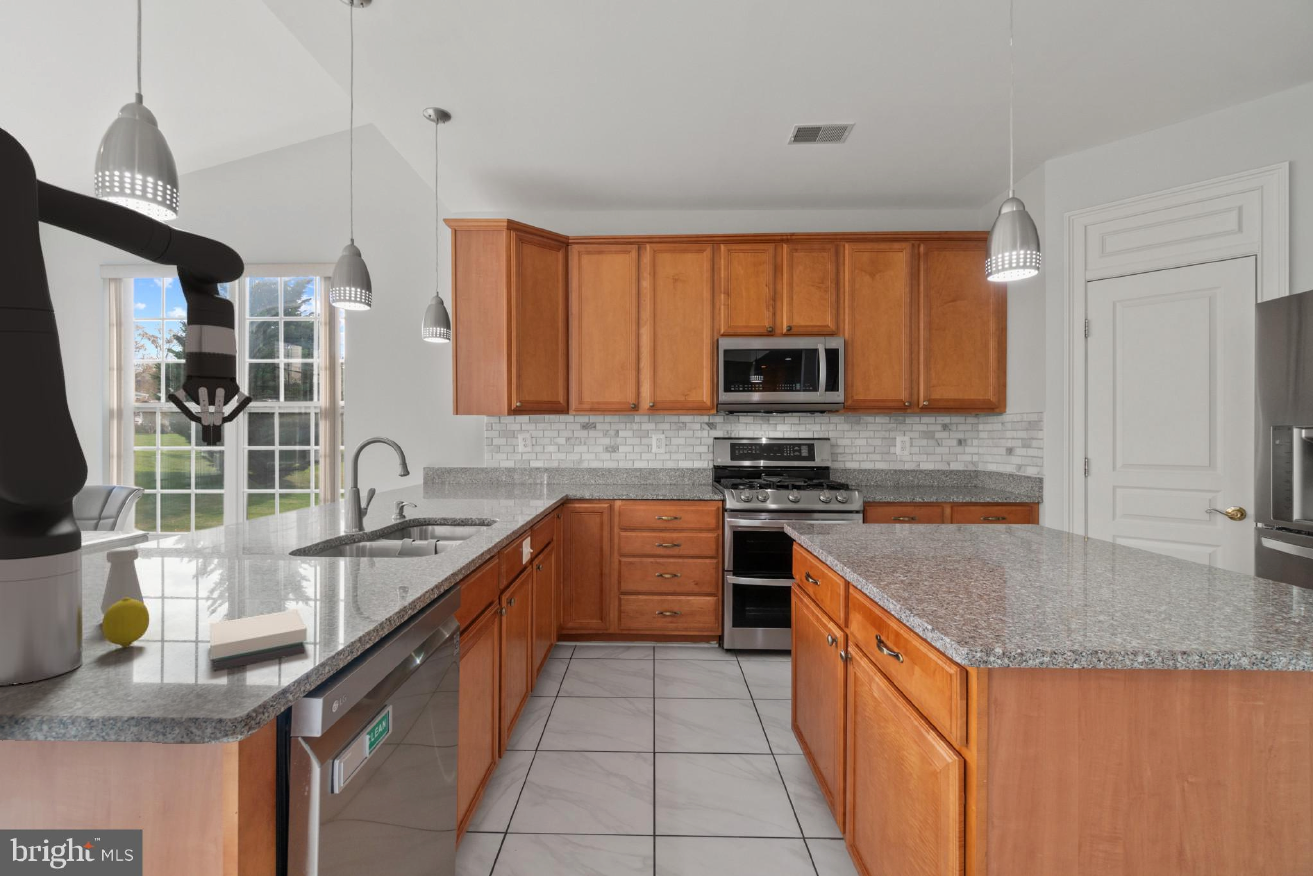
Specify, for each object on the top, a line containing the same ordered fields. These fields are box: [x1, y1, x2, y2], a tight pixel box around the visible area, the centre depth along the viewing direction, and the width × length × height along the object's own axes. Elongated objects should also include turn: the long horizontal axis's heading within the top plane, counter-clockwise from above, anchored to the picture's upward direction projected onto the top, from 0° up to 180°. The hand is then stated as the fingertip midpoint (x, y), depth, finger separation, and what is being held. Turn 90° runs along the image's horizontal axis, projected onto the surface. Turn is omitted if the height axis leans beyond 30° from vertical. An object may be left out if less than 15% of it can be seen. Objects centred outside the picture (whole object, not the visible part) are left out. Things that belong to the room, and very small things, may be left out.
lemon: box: [101, 597, 150, 648], centre depth 91 cm, size 6×6×8 cm
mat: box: [214, 643, 305, 672], centre depth 90 cm, size 11×11×1 cm
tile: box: [209, 609, 308, 662], centre depth 91 cm, size 12×2×12 cm
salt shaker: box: [100, 546, 145, 616], centre depth 104 cm, size 6×6×13 cm
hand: (211, 445), depth 106 cm, fingers closed
